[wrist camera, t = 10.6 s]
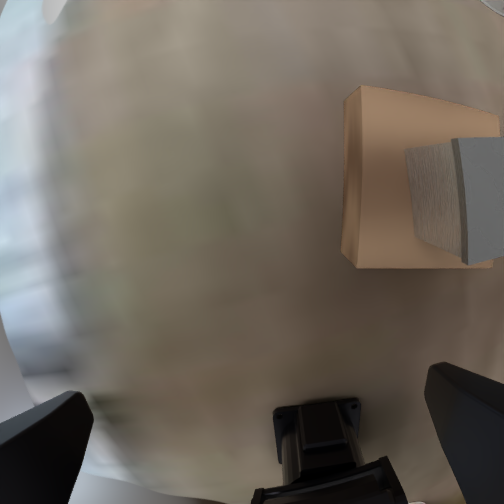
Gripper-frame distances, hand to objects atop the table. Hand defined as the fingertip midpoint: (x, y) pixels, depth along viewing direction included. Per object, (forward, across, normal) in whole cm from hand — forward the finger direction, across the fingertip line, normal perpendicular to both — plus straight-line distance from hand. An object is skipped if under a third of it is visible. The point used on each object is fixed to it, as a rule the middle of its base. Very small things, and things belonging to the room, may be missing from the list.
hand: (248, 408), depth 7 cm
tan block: (+13, -10, -4) cm, 17 cm away
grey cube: (+9, -10, -4) cm, 14 cm away
